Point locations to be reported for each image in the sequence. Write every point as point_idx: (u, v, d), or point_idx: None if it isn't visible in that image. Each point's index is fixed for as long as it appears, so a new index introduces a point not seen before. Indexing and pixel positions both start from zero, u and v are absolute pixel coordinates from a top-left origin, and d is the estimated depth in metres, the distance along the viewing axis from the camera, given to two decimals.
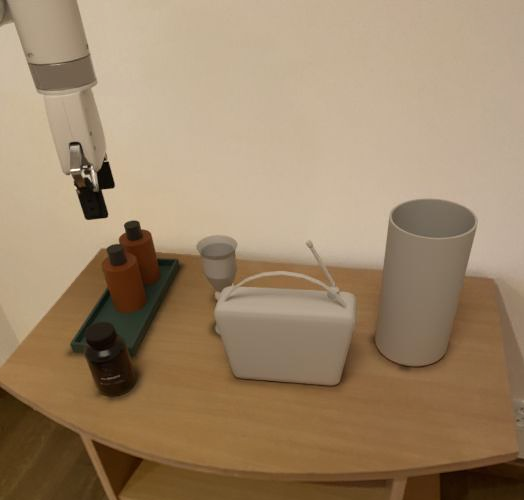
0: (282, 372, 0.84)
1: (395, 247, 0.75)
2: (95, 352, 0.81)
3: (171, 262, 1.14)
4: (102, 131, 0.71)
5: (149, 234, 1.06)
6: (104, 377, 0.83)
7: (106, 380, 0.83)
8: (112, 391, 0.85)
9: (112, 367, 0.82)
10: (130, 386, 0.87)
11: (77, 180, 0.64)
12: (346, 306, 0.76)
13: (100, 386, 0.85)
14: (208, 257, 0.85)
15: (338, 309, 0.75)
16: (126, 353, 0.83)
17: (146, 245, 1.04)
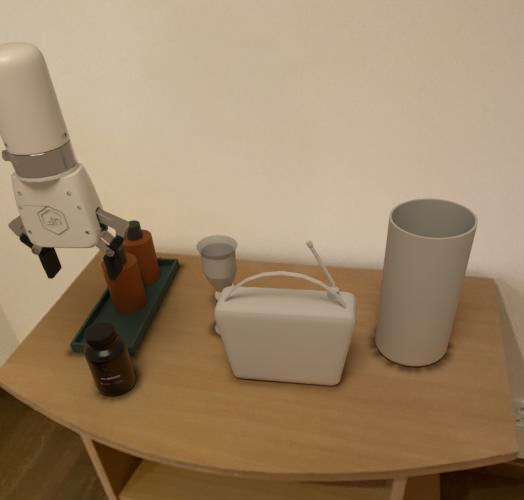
0: (282, 372, 0.84)
1: (395, 247, 0.75)
2: (95, 352, 0.81)
3: (171, 262, 1.14)
4: None
5: (149, 234, 1.06)
6: (104, 377, 0.83)
7: (106, 380, 0.83)
8: (112, 391, 0.85)
9: (112, 367, 0.82)
10: (130, 386, 0.87)
11: (125, 234, 0.69)
12: (346, 306, 0.76)
13: (100, 386, 0.85)
14: (208, 257, 0.85)
15: (338, 309, 0.75)
16: (126, 353, 0.83)
17: (146, 245, 1.04)
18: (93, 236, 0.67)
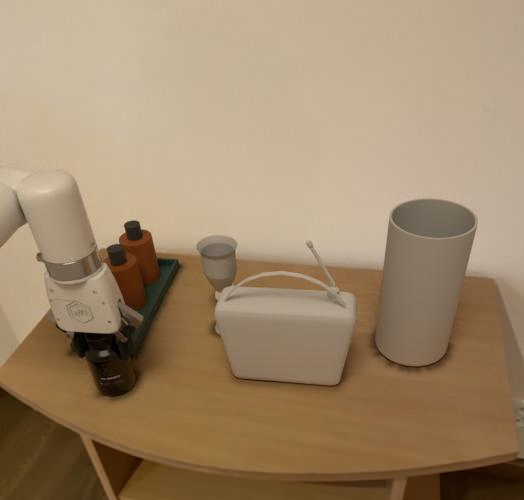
0: (282, 372, 0.84)
1: (395, 247, 0.75)
2: (95, 352, 0.81)
3: (171, 262, 1.14)
4: None
5: (149, 234, 1.06)
6: (104, 377, 0.83)
7: (106, 380, 0.83)
8: (112, 391, 0.85)
9: (112, 367, 0.82)
10: (130, 386, 0.87)
11: (138, 326, 0.78)
12: (346, 306, 0.76)
13: (100, 386, 0.85)
14: (208, 257, 0.85)
15: (338, 309, 0.75)
16: None
17: (146, 245, 1.04)
18: (115, 325, 0.76)
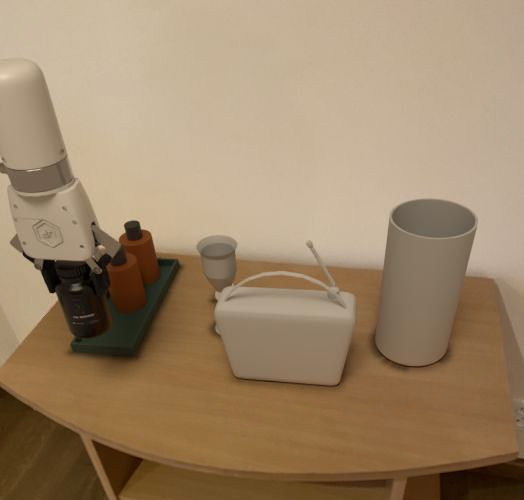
0: (282, 372, 0.84)
1: (395, 247, 0.75)
2: (66, 285, 0.72)
3: (171, 262, 1.14)
4: None
5: (149, 234, 1.06)
6: (76, 314, 0.74)
7: (79, 319, 0.75)
8: (86, 332, 0.77)
9: (86, 304, 0.74)
10: (106, 328, 0.78)
11: None
12: (346, 306, 0.76)
13: (72, 326, 0.77)
14: (208, 257, 0.85)
15: (338, 309, 0.75)
16: None
17: (146, 245, 1.04)
18: (87, 250, 0.67)
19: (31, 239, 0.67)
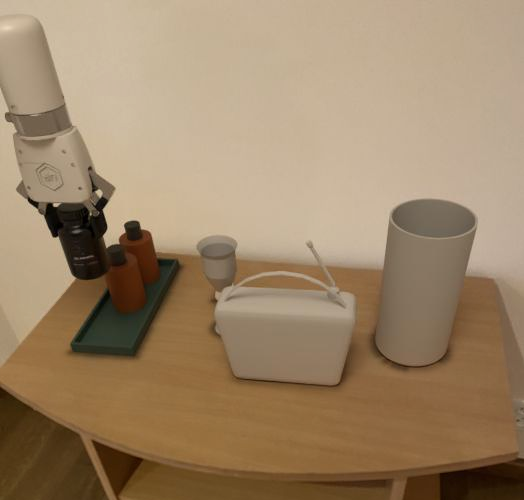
0: (282, 372, 0.84)
1: (395, 247, 0.75)
2: (67, 228, 0.80)
3: (171, 262, 1.14)
4: None
5: (149, 234, 1.06)
6: (77, 256, 0.82)
7: (80, 260, 0.82)
8: (86, 274, 0.84)
9: (85, 245, 0.81)
10: (104, 271, 0.86)
11: (110, 197, 0.77)
12: (346, 306, 0.76)
13: (73, 268, 0.84)
14: (208, 257, 0.85)
15: (338, 309, 0.75)
16: None
17: (146, 245, 1.04)
18: (85, 192, 0.75)
19: (35, 183, 0.75)
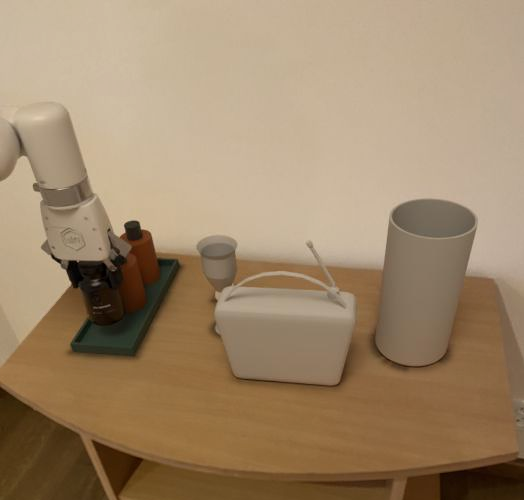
0: (282, 372, 0.84)
1: (395, 247, 0.75)
2: (87, 281, 0.88)
3: (171, 262, 1.14)
4: None
5: (149, 234, 1.06)
6: (96, 305, 0.90)
7: (98, 309, 0.90)
8: (103, 320, 0.92)
9: (103, 296, 0.89)
10: (120, 317, 0.94)
11: None
12: (346, 306, 0.76)
13: (92, 316, 0.92)
14: (208, 257, 0.85)
15: (338, 309, 0.75)
16: None
17: (146, 245, 1.04)
18: (105, 252, 0.83)
19: (59, 244, 0.83)
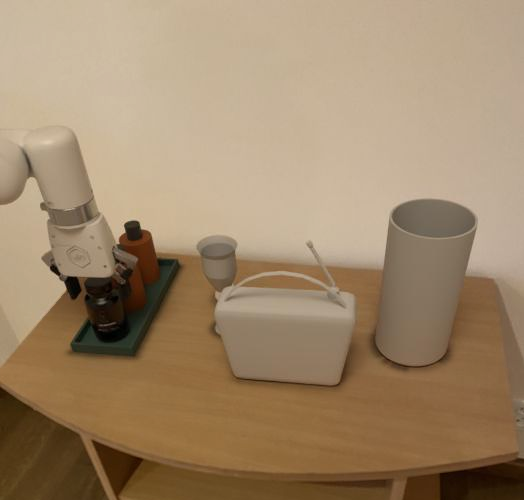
0: (282, 372, 0.84)
1: (395, 247, 0.75)
2: (93, 300, 0.90)
3: (171, 262, 1.14)
4: None
5: (149, 234, 1.06)
6: (101, 323, 0.92)
7: (104, 326, 0.93)
8: (109, 337, 0.95)
9: (109, 314, 0.92)
10: (125, 334, 0.96)
11: (134, 267, 0.87)
12: (346, 306, 0.76)
13: (98, 333, 0.95)
14: (208, 257, 0.85)
15: (338, 309, 0.75)
16: (121, 302, 0.93)
17: (146, 245, 1.04)
18: (109, 269, 0.85)
19: (65, 261, 0.85)
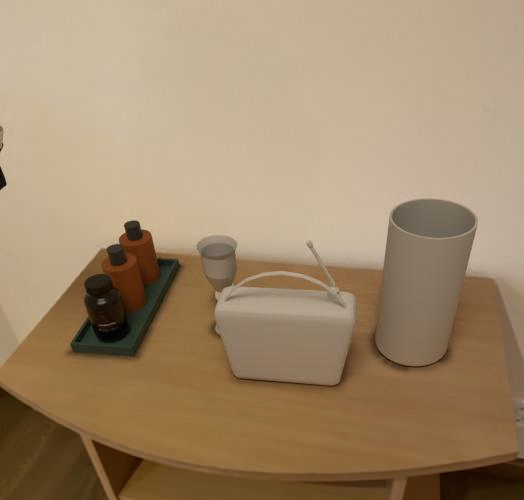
0: (282, 372, 0.84)
1: (395, 247, 0.75)
2: (93, 300, 0.90)
3: (171, 262, 1.14)
4: None
5: (149, 234, 1.06)
6: (101, 323, 0.92)
7: (104, 326, 0.93)
8: (109, 337, 0.95)
9: (109, 314, 0.92)
10: (125, 334, 0.96)
11: None
12: (346, 306, 0.76)
13: (98, 333, 0.95)
14: (208, 257, 0.85)
15: (338, 309, 0.75)
16: (121, 302, 0.93)
17: (146, 245, 1.04)
18: None
19: None
